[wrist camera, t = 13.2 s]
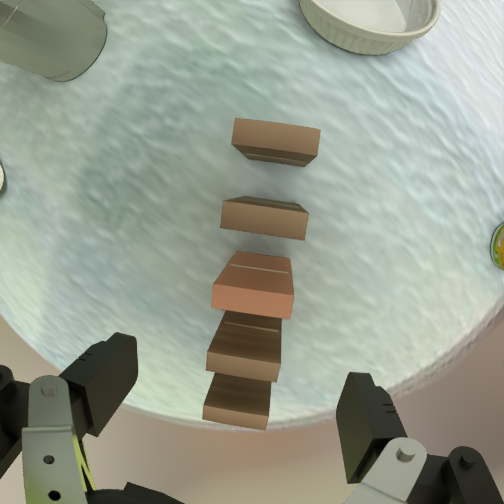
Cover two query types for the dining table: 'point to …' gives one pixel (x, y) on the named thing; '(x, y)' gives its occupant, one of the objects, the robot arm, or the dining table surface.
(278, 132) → the domino
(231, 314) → the domino
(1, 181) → the spread jar
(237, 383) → the domino
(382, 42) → the ramekin
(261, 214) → the domino
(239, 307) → the domino
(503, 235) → the supplement bottle
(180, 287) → the dining table surface
